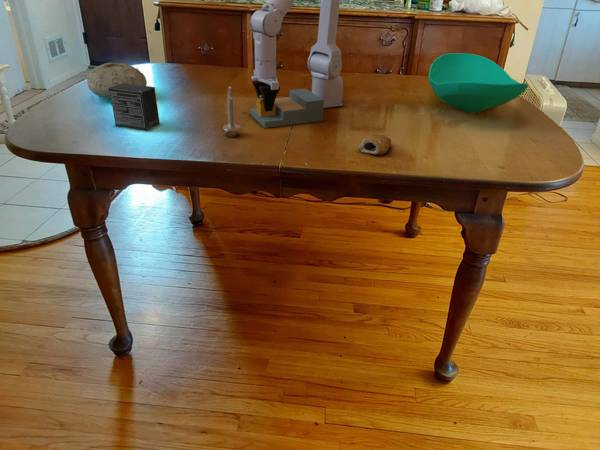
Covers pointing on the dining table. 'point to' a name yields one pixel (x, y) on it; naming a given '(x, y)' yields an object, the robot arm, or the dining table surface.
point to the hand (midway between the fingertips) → (266, 108)
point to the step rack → (293, 110)
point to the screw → (231, 116)
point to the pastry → (375, 144)
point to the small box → (134, 106)
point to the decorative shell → (113, 77)
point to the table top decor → (472, 82)
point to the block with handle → (262, 111)
